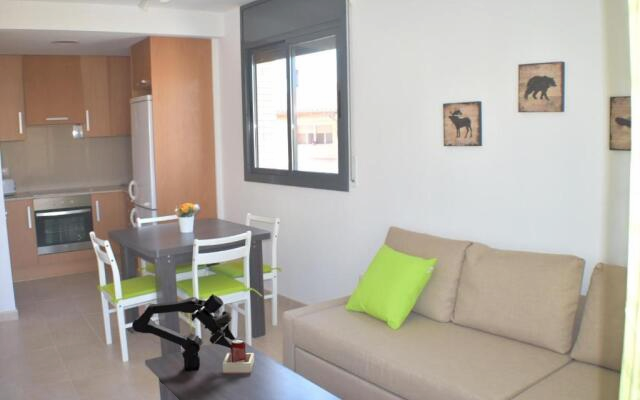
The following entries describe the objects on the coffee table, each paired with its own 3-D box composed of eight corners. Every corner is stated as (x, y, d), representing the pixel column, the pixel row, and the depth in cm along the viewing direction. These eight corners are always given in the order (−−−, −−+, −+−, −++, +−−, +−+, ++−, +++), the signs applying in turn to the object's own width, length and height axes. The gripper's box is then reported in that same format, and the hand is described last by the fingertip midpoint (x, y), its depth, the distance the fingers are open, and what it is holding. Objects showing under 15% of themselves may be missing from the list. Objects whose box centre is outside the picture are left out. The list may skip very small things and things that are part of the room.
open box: (222, 373, 259) (222, 363, 258) (227, 362, 271) (227, 353, 271) (250, 373, 259) (250, 363, 258) (254, 362, 271) (254, 352, 270)
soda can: (246, 368, 262) (246, 342, 261) (231, 370, 261) (231, 344, 259) (244, 362, 269) (244, 337, 268) (230, 364, 267) (229, 339, 266)
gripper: (216, 313, 253) (242, 338, 254) (223, 301, 271) (248, 324, 272) (198, 331, 254) (224, 356, 255) (207, 318, 272) (231, 341, 273)
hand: (233, 343), depth 264 cm, fingers open, 9 cm apart
